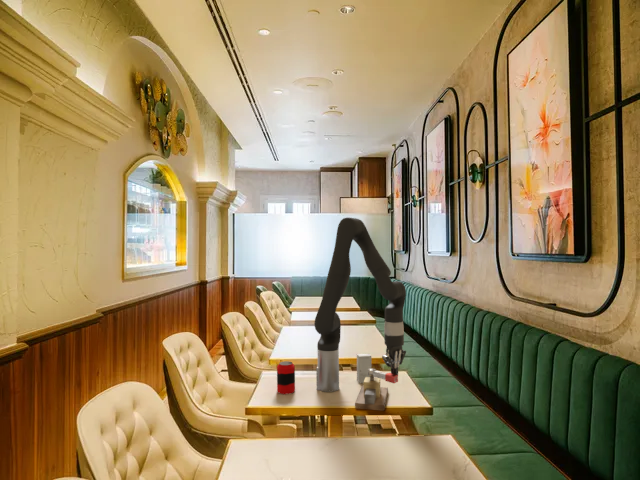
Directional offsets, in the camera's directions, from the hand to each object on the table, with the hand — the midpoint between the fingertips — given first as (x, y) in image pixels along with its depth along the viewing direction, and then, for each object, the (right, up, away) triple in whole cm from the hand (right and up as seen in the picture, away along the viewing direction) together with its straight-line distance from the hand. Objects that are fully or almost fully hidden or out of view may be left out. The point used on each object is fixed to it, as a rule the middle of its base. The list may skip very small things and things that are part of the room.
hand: (394, 376), depth 163 cm
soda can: (-44, -11, +15) cm, 48 cm away
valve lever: (-5, -1, +1) cm, 5 cm away
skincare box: (-9, -11, +26) cm, 30 cm away
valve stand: (-8, -11, +4) cm, 14 cm away
